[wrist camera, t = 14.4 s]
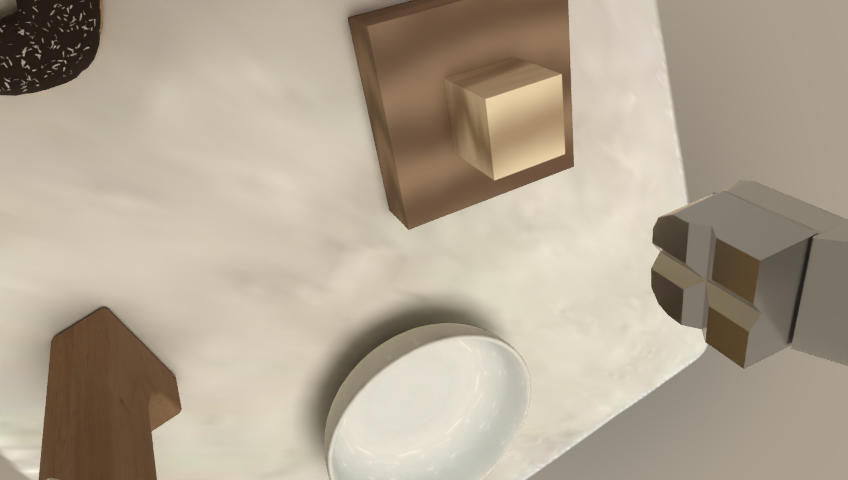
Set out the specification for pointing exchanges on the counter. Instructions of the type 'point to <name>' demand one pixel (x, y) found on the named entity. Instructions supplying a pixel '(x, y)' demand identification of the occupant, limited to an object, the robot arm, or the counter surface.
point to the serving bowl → (428, 407)
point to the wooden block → (103, 403)
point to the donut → (47, 43)
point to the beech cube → (506, 116)
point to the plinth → (426, 94)
